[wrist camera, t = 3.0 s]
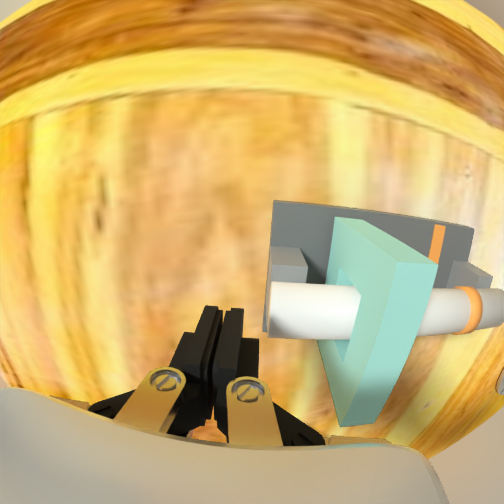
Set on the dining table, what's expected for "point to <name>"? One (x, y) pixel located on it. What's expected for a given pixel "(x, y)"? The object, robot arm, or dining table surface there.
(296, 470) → the robot arm
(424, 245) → the pipe rig
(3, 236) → the dining table surface
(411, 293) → the collar
